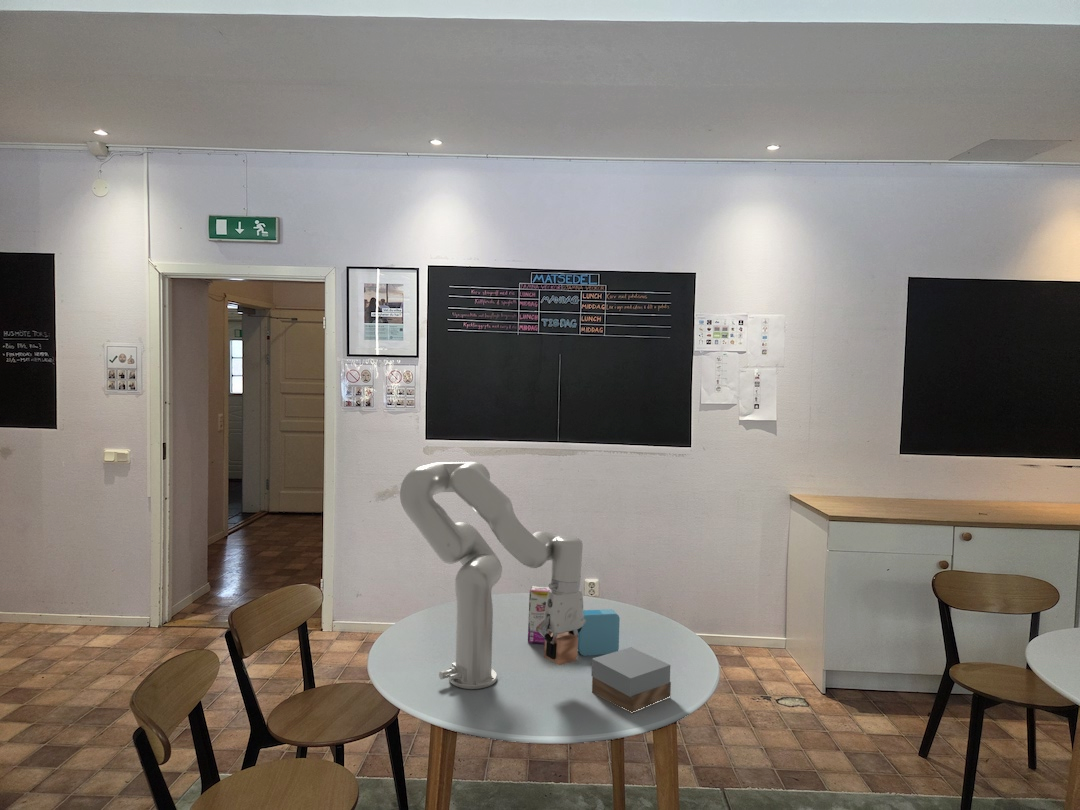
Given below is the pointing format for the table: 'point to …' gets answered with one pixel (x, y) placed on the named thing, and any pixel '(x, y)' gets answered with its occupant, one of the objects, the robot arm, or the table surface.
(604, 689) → the tower bottom
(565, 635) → the stack block
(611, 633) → the blue rounded block
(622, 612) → the table surface
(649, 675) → the tower top
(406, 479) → the robot arm
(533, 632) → the candy bar box
